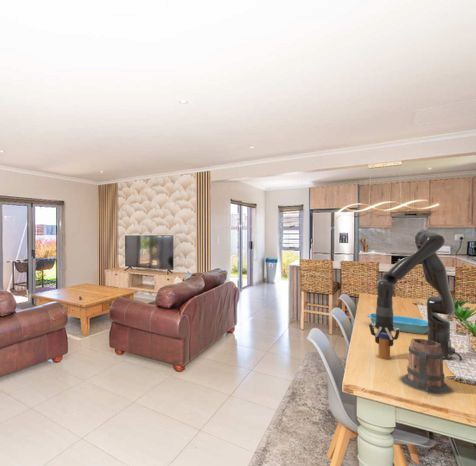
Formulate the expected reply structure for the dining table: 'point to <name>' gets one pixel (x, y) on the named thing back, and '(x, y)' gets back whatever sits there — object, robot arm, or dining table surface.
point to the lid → (383, 335)
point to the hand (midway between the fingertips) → (384, 344)
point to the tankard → (426, 367)
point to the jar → (384, 348)
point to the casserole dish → (406, 323)
